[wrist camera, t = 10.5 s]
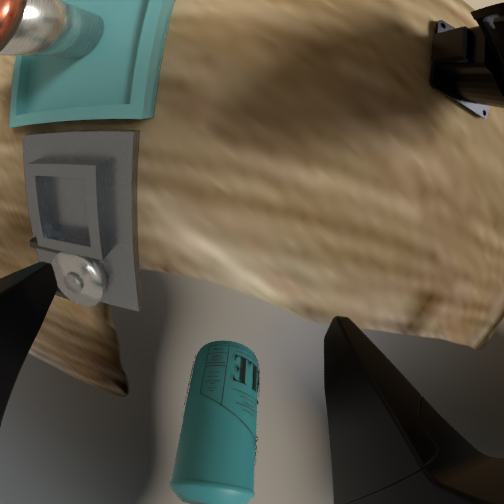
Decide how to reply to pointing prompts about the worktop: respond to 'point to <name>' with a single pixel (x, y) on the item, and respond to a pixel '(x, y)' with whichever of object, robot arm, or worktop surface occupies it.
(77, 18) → the pin
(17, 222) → the worktop surface
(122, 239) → the block
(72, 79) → the tray
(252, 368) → the teal can
